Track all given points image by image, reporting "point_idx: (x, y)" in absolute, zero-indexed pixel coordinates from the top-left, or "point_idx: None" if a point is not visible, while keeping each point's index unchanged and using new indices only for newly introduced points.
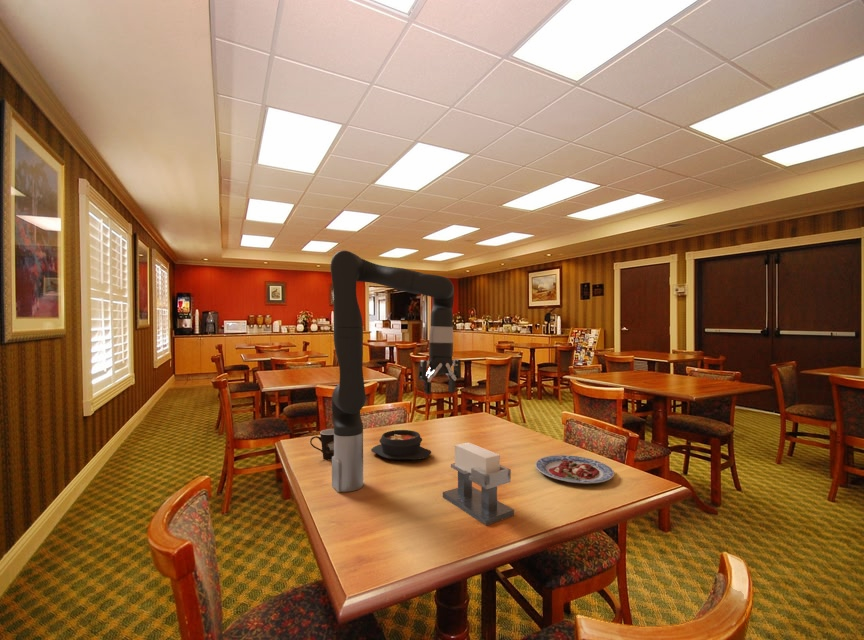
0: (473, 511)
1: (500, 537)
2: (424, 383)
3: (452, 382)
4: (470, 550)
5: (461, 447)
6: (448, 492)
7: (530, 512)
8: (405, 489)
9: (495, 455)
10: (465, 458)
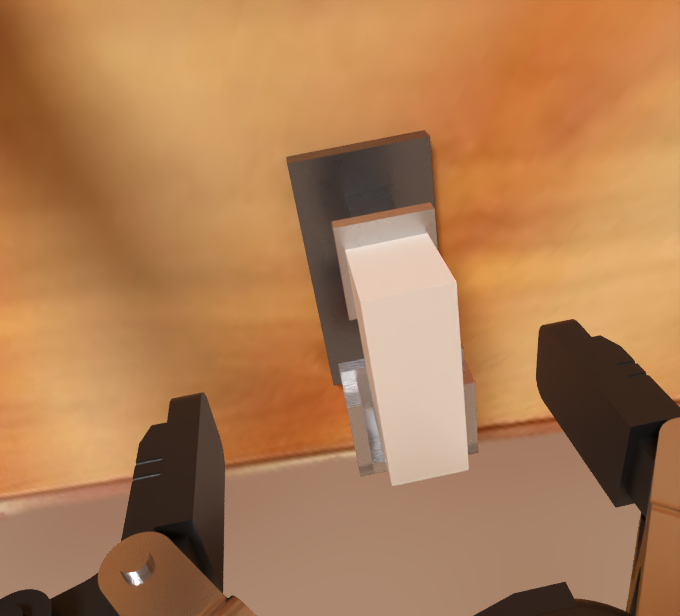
0: (325, 335)
1: (336, 426)
2: (125, 528)
3: (604, 488)
4: (237, 449)
5: (372, 346)
6: (309, 176)
7: (496, 351)
8: (139, 3)
9: (449, 470)
10: (366, 352)
